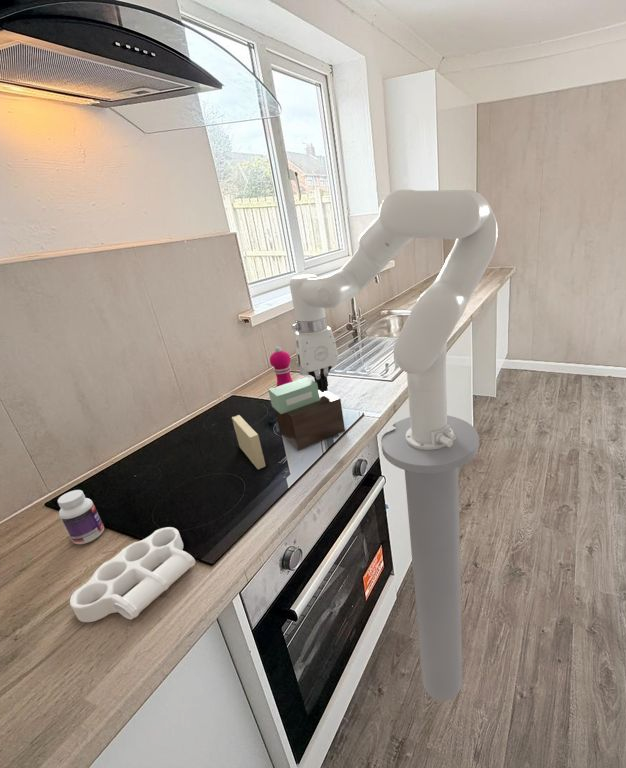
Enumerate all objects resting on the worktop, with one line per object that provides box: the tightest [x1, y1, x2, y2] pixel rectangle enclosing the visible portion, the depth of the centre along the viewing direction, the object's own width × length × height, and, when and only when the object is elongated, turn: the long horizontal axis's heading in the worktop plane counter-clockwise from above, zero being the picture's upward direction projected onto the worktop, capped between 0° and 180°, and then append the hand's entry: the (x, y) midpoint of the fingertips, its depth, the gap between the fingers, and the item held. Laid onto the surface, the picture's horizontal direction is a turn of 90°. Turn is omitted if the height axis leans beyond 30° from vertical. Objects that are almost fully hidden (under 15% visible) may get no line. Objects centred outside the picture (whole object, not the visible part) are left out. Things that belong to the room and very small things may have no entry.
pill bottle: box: [57, 489, 105, 545], centre depth 81 cm, size 5×5×10 cm
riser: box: [274, 390, 346, 451], centre depth 112 cm, size 12×14×10 cm
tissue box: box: [267, 376, 320, 414], centre depth 107 cm, size 11×6×5 cm, turn 127°
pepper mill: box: [269, 346, 294, 387], centre depth 126 cm, size 7×7×20 cm
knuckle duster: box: [69, 526, 197, 623], centre depth 71 cm, size 3×18×15 cm
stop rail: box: [231, 414, 267, 470], centre depth 103 cm, size 14×2×9 cm, turn 37°
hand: (322, 390), depth 112 cm, fingers closed
